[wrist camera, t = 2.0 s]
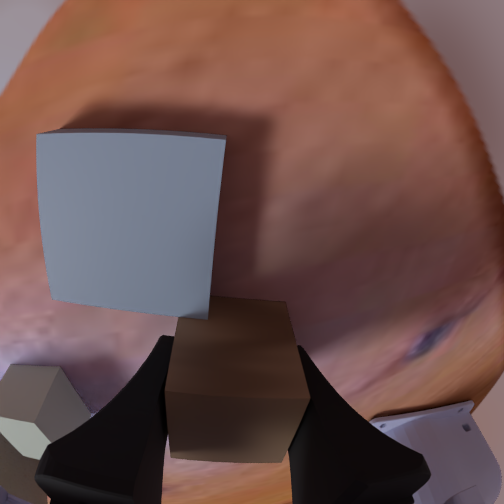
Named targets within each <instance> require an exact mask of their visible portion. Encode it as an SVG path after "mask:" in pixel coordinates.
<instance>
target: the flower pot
mask: <svg viewBox="0 0 504 504" xmlns="http://www.w3.org/2000/svg"><path fill="white" fill-rule="evenodd" d="M39 461H40V460H38V459H34V458H30V457H26V456H23V455H22V454H21V453H20V452H19V451H18V450H17V449H16V448H15V447H14V446H13V445H12V444H11V443H10V442H9V441H8V440H7V439H6V438H5V437H4V436H3V435H2V434H1V432H0V485H1V486H2V487H3V488H4V489H5V490H6V491H7V493H9V494H11V495H14V496H16V497H18V498H20V499H23V500H25V501H27V502H30V503H32V504H48V502H47V494H46V493H45V492H44V491H43V490H42V489H41V488H40V487H39V486H38V484H37V483H36V481H35V479H34V476H35V473H36V470H37V467H38V464H39Z"/></svg>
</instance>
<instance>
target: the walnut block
mask: <svg viewBox="0 0 504 504" xmlns="http://www.w3.org/2000/svg"><path fill="white" fill-rule="evenodd" d="M309 401H310V394H309V390H308V386H307V383H306V379H305V375H304V371H303V367H302V363H301V359H300V356H299V352H298V348H297V344H296V340H295V336H294V333H293V329H292V325H291V321H290V318H289V314H288V310H287V306H286V303H285V302H281V301H267V300H254V299H242V298H231V297H219V296H210V298H209V311H208V320H206V319H195V318H185V317H178V322H177V327H176V332H175V337H174V342H173V347H172V353H171V358H170V363H169V369H168V374H167V380H166V386H165V402H166V415H167V426H168V437H169V447H170V456H171V458H177V459H187V460H198V461H212V462H234V463H281V462H282V460H283V458H284V456H285V454H286V452H287V450H288V448H289V446H290V444H291V441H292V439H293V437H294V435H295V433H296V431H297V428H298V426H299V424H300V422H301V419H302V417H303V415H304V412H305V410H306V408H307V405H308V403H309Z"/></svg>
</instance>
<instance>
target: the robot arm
mask: <svg viewBox="0 0 504 504" xmlns="http://www.w3.org/2000/svg"><path fill="white" fill-rule="evenodd" d="M173 342H174V336H166V335H162V336H161V337H160V338H159V340H158V342H157V343H156V345H155V347H154V348H153V350H152V352H151V353H150V355H149V356H148V358H147V359H146V360H145V362H144V363H143V364H142V366H141V367H140V369H139V370H138V371H137V373H136V374H135V375H134V376H133V377H132V379H131V380H130V381H129V382H128V383H127V384H126V386H125V387H124V388H123V389H122V390H121V391H120V392H119V393H118V394H117V395H116V396H115V397H114V398H113V399H112V400H111V401H110V402H109V403H108V404H107V405H106V406H105V407H103V408H102V409H101V410H100V411H99V412H98V413H97V414H95V415H94V416H93V417H92V418H90V419H89V420H87V421H86V422H85V423H83V424H82V425H80V426H79V427H77V428H76V429H75V430H73V431H72V432H70V433H68V434H67V435H65V436H63V437H61V438H59V439H58V440H56V441H54V442H52V443H50V444H48V445H47V447H46V449H45V451H44V453H43V454H42V456H41V458H40V461H39V464H38V467H37V470H36V473H35V476H34V479H35V481H36V483H37V484H38V486H39V487H40V488H41V489H42V490H43V491H44V492H45V493H46V494H47V495H48V496H49V497H50V498H51V501H50V504H161V498H162V480H163V466H164V455H165V447H166V441H167V436H168V426H167V415H166V402H165V386H166V380H167V374H168V369H169V363H170V358H171V353H172V347H173ZM297 348H298V352H299V356H300V359H301V363H302V367H303V371H304V375H305V379H306V383H307V386H308V390H309V394H310V401H309V403H308V405H307V408H306V410H305V412H304V415H303V417H302V419H301V422H300V424H299V426H298V428H297V431H296V433H295V435H294V437H293V439H292V441H291V444H290V446H289V448H288V453H289V461H290V472H291V485H292V502H293V504H494V502H495V501H496V499H497V497H498V495H499V493H500V489H501V483H502V479H501V478H502V476H501V470H500V467H499V464H498V462H497V460H496V458H495V456H494V454H493V453H492V451H491V449H490V447H489V445H488V444H487V442H486V440H485V438H484V436H483V435H482V433H481V431H480V430H479V428H478V426H477V425H476V423H475V421H474V420H473V418H472V416H471V414H470V413H469V412H470V410H471V409H472V408H473V406H474V402H473V401H472V400H470V401H466V402H462V403H458V404H453V405H449V406H444V407H439V408H434V409H429V410H424V411H418V412H413V413H407V414H400V415H393V416H386V417H379V418H374V419H372V420H371V421H369V422H368V421H367V420H365V419H364V418H363V417H362V416H361V415H359V414H358V413H357V412H356V411H355V410H354V409H353V408H352V407H351V406H350V405H349V404H348V403H347V402H346V401H345V400H344V399H343V398H342V397H341V396H340V395H339V394H338V393H337V392H336V390H335V389H334V388H333V387H332V386H331V385H330V383H329V382H328V381H327V380H326V378H325V377H324V376H323V375H322V373H321V372H320V371H319V369H318V368H317V367H316V365H315V364H314V363H313V361H312V360H311V358H310V357H309V356H308V354H307V353H306V351H305V350H304V349H303V347H302V346H300V345H297ZM0 504H32V503H30V502H27V501H25V500H23V499H20V498H18V497H16V496H14V495H11V494H9V493H7V491H6V490H5V489H4V488H3V487H2V486H1V485H0Z"/></svg>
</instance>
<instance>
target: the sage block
mask: <svg viewBox="0 0 504 504" xmlns="http://www.w3.org/2000/svg"><path fill="white" fill-rule="evenodd" d="M90 416H91V413H90V411H89V410H88V408H87V407H86V406H85V404H84V403H83V401H82V400H81V398H80V397H79V395H78V394H77V392H76V391H75V389H74V388H73V386H72V384H71V383H70V381H69V380H68V378H67V377H66V375H65V373H64V372H63V370H62V368H61V367H60V366H30V365H12V364H11V365H10V366H9V368H8V370H7V371H6V373H5V375H4V376H3V378H2V380H1V381H0V432H1V434H2V435H3V436H4V437H5V438H6V439H7V440H8V441H9V442H10V443H11V444H12V445H13V446H14V447H15V448H16V449H17V450H18V451H19V452H20V453H21V454H22V455H23V456H26V457H30V458H34V459H38V460H40V458H41V456H42V454H43V453H44V451H45V449H46V447H47V445H48V444H50V443H52V442H54V441H56V440H58V439H59V438H61V437H63V436H65V435H67V434H68V433H70V432H72V431H73V430H75V429H76V428H77V427H79V426H80V425H82V424H83V423H85V422H86V421H87V420H89V419H90Z"/></svg>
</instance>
